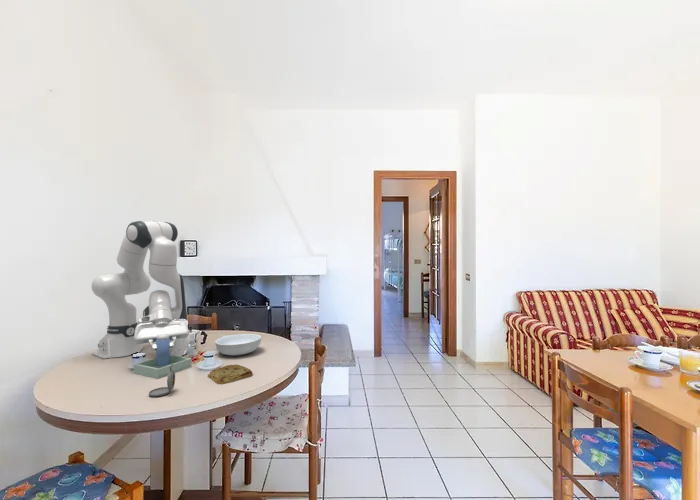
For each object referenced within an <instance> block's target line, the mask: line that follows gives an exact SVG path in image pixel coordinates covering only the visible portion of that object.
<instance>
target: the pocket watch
mask: <svg viewBox="0 0 700 500" xmlns="http://www.w3.org/2000/svg"><path fill="white" fill-rule="evenodd" d="M171 365H173V363H172V364H171ZM166 379H167V380H166V384H167V385H166V386H162V387H158V388H154V389H151V390H150V391H149V392H148V395H149V397H156V398H157V397H162V396H165V395H168V394H169V393H171V392H172V391H173V390H174V388H175V384H176V372H175V371H174V370H172V366H170V372H169V374H168V375H167V378H166Z"/></svg>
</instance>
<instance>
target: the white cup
mask: <svg viewBox="0 0 700 500" xmlns="http://www.w3.org/2000/svg"><path fill="white" fill-rule="evenodd" d="M188 338H189V336H188V337H187V338H182V339H176V342H175V343H174V348H170V355H174V356H181V357H183V356H182V355H183V354H184V351H185V350H186V348H187V349H188V341H189V340H188ZM170 343H172V340H170Z"/></svg>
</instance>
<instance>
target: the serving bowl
mask: <svg viewBox="0 0 700 500" xmlns="http://www.w3.org/2000/svg"><path fill="white" fill-rule="evenodd" d="M261 341H262V336H261V335H260V334H255V333H240V334H230V335H226V336H222V337H219V338H218V339H216V340H215V341H214V342H215V343H214V344H215V347H216V350H217V351H218V352H219V353H221V354H222V355H225V356H233V357H235V356H237V357H239V356H243V355H246V354H250V353H252V352H254V351H255V350H257V348H258V347H259V346H260V344H261V343H262V342H261Z"/></svg>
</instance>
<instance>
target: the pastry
mask: <svg viewBox="0 0 700 500" xmlns="http://www.w3.org/2000/svg"><path fill="white" fill-rule="evenodd" d="M252 376H253V371H252V370H251V369H250V368H247V367H245V366H243V365H240V364H228V365H225V366H222V367H218V368H214V369H212V370H211V371H210V373H209V374H207V378H209V379H211V380H212V381H213V383H215V384H216V385H225V384H229V383H234V382H237V381H240V380H244V379H247V378H250V377H252Z"/></svg>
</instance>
